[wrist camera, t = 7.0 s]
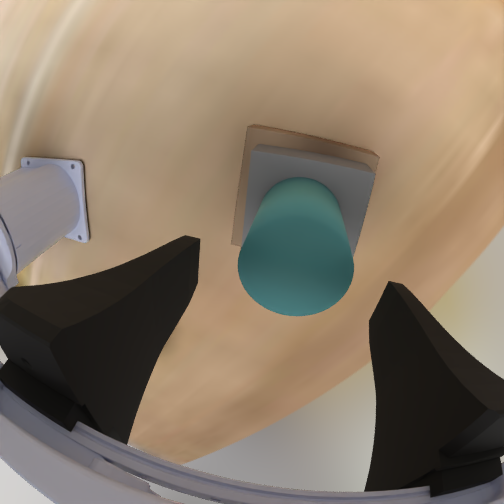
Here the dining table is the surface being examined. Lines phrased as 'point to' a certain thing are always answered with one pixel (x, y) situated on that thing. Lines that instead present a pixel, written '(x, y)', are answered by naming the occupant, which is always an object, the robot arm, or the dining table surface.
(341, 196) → the grey square block
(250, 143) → the walnut slab
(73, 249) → the dining table surface
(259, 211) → the teal cylinder
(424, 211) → the dining table surface
